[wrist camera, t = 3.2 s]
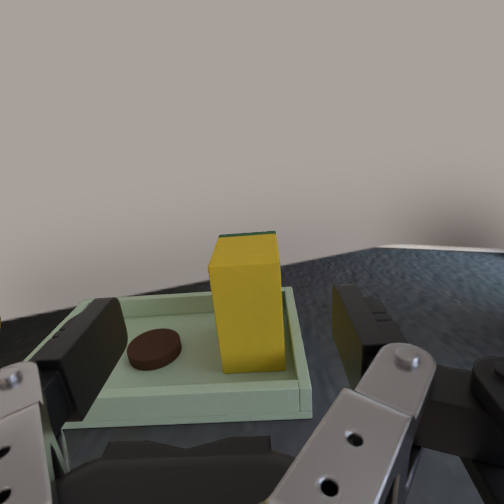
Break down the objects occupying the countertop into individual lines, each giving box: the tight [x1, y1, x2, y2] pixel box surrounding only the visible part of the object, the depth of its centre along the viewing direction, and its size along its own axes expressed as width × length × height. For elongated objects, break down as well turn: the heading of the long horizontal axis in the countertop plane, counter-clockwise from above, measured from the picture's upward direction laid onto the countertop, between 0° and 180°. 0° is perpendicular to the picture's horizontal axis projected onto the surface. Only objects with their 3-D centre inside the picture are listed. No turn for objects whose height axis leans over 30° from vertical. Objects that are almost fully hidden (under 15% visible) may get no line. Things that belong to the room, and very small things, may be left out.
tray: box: [24, 287, 312, 429], centre depth 28 cm, size 22×14×3 cm, turn 89°
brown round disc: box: [127, 328, 182, 371], centre depth 28 cm, size 4×4×1 cm
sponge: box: [208, 231, 286, 374], centre depth 26 cm, size 5×7×9 cm
